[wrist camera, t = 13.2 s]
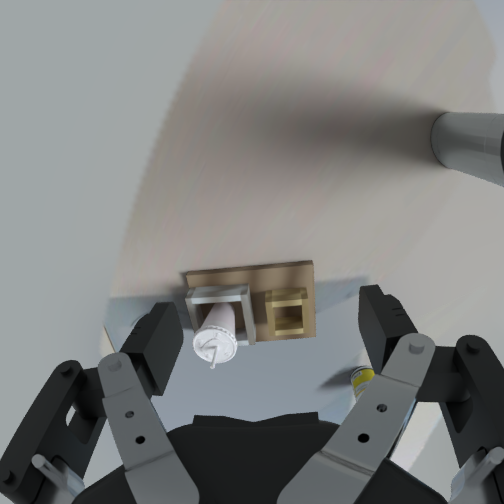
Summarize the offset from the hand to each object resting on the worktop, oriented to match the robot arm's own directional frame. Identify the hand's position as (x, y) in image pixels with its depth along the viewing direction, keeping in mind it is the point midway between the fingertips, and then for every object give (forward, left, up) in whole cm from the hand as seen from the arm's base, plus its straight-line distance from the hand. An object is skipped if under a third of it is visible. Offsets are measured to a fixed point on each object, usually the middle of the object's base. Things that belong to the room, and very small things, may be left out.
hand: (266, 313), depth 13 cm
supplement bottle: (-15, +40, -33) cm, 54 cm away
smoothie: (+10, +20, -32) cm, 39 cm away
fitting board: (+5, +20, -33) cm, 39 cm away
